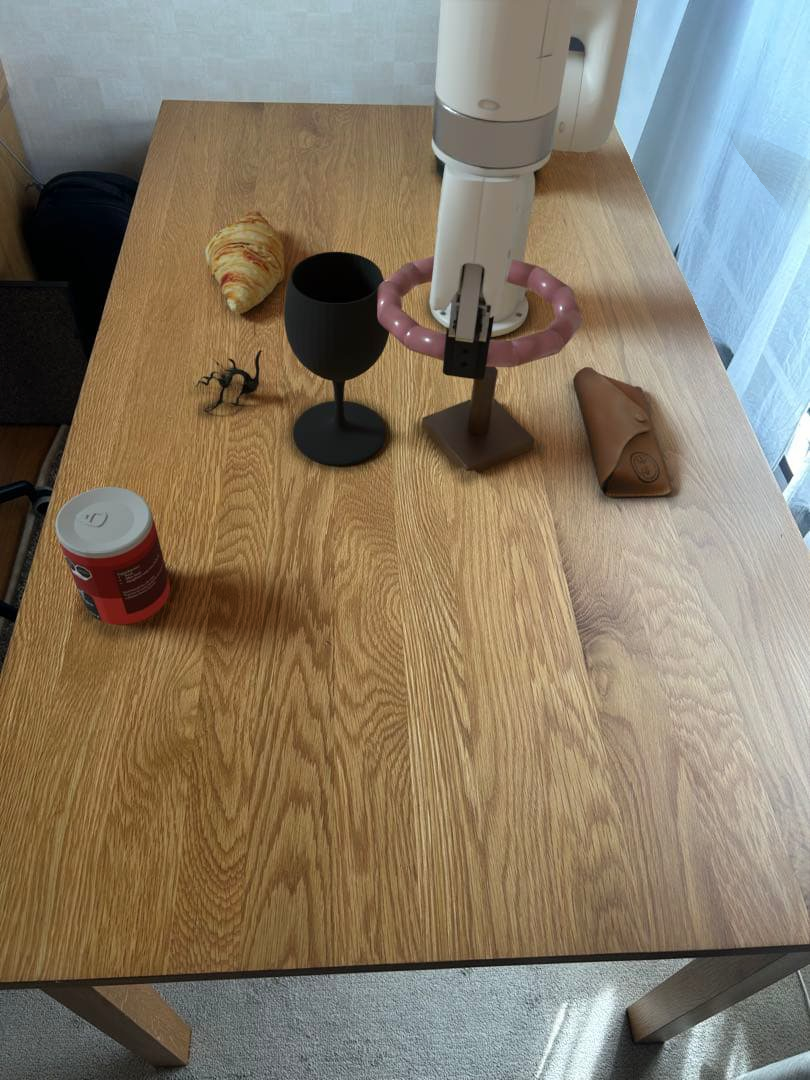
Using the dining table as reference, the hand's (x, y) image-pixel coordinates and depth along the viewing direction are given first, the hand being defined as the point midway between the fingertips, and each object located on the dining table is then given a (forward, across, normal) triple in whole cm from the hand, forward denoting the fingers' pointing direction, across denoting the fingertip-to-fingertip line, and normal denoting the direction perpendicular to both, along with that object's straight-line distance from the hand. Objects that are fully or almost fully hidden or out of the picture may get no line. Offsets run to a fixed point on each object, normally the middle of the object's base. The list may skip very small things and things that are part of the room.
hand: (466, 360), depth 69 cm
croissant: (+25, -44, -32) cm, 60 cm away
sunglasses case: (+25, -22, +17) cm, 37 cm away
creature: (+25, -20, -28) cm, 42 cm away
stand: (+25, -18, +1) cm, 31 cm away
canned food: (+25, +10, -28) cm, 39 cm away
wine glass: (+25, -16, -14) cm, 33 cm away
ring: (0, -7, 0) cm, 7 cm away
